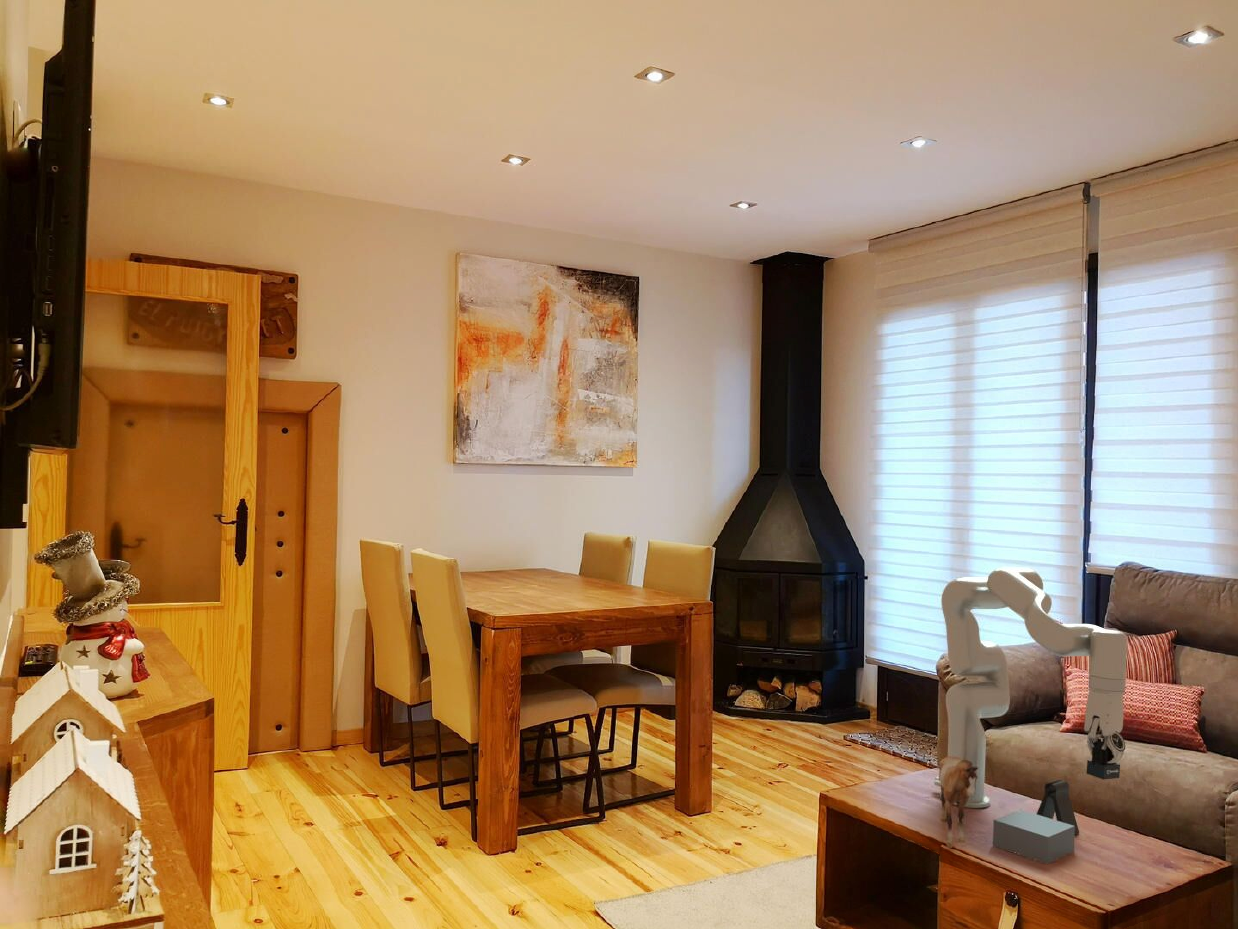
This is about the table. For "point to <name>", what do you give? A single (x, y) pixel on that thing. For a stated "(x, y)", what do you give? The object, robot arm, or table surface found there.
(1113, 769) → the watch
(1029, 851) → the base block
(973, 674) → the robot arm
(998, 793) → the table surface
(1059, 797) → the phone stand
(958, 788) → the horse figurine
